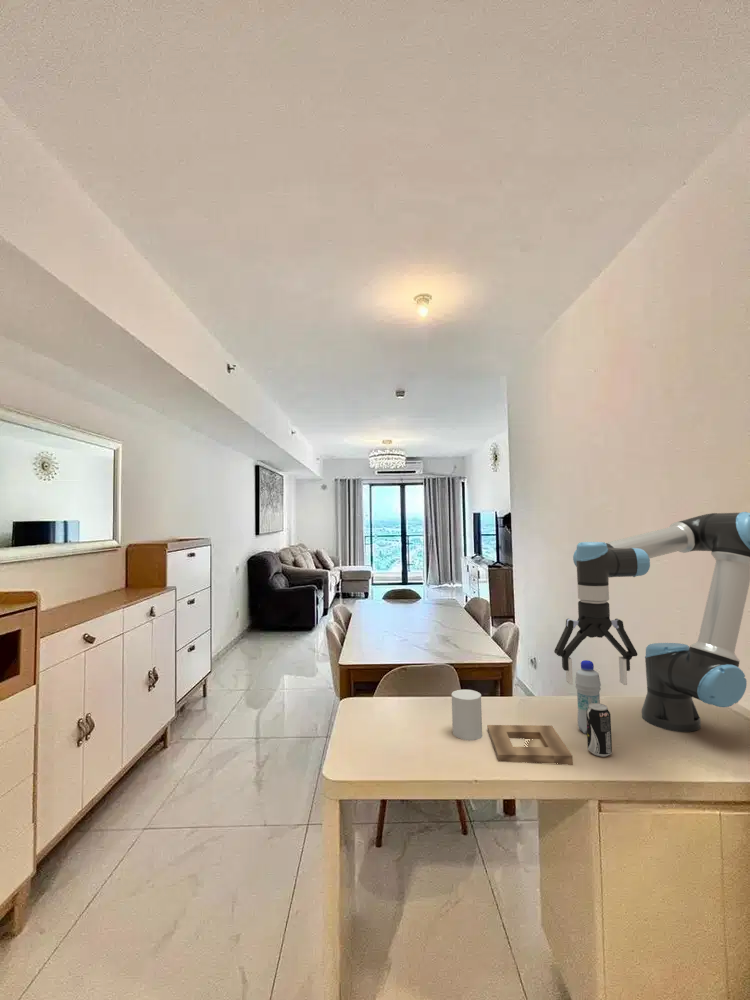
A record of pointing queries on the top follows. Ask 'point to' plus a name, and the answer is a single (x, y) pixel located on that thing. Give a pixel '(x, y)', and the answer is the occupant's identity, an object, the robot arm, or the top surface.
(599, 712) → the beverage can
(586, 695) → the bottle
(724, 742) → the top surface
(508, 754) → the socket block
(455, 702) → the cup
